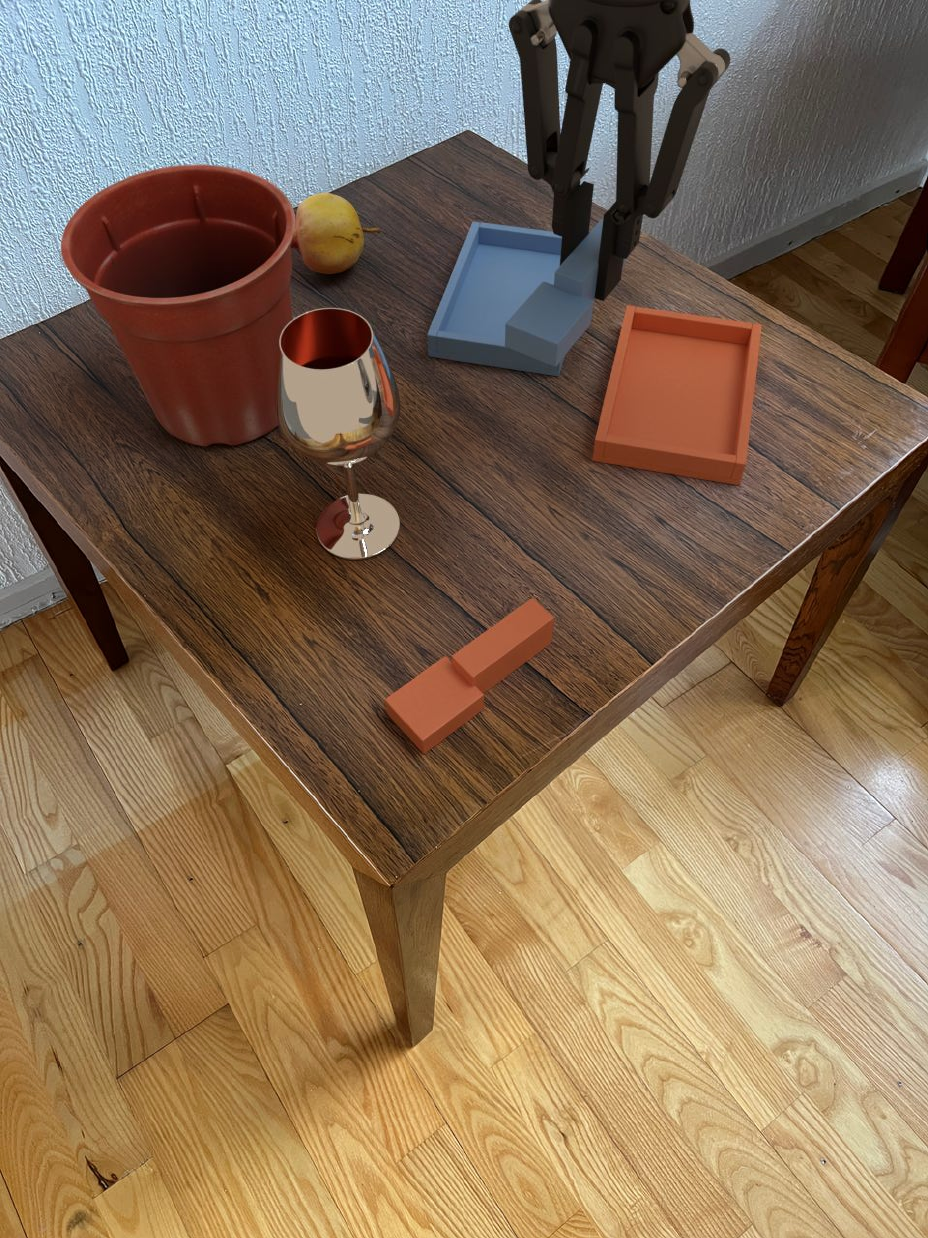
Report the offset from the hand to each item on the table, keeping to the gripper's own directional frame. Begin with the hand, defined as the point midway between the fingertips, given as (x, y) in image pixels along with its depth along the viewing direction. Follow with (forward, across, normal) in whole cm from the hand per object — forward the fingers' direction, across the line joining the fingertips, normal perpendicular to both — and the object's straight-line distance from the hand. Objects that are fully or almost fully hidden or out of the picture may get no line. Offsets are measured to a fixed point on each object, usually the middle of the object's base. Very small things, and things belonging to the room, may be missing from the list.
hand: (589, 281), depth 69 cm
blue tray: (+13, -11, +10) cm, 20 cm away
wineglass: (+13, -8, -19) cm, 25 cm away
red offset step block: (+13, +6, -26) cm, 30 cm away
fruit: (+13, -29, +6) cm, 33 cm away
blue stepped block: (0, 0, -3) cm, 3 cm away
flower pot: (+13, -26, -13) cm, 32 cm away
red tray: (+13, +7, +6) cm, 16 cm away
